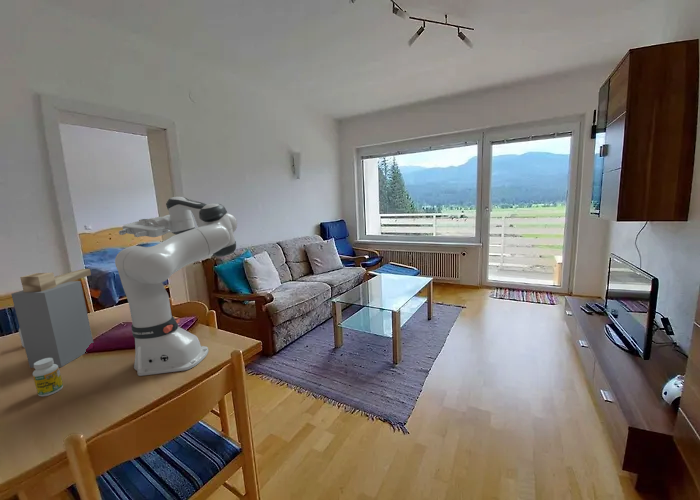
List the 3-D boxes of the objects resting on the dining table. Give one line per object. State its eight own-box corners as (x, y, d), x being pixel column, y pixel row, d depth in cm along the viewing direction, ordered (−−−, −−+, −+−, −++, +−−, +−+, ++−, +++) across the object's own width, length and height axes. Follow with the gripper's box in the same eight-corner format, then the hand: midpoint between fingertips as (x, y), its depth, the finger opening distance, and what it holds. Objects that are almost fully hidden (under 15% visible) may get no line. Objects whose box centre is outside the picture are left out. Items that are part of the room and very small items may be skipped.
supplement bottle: (65, 383, 93) (58, 354, 91) (61, 392, 89) (54, 362, 87) (40, 390, 90) (33, 360, 89) (35, 399, 86) (27, 368, 84)
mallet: (94, 274, 120) (92, 262, 119) (41, 291, 99) (38, 276, 99) (79, 275, 120) (77, 262, 119) (23, 291, 100) (20, 277, 99)
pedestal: (94, 347, 115) (80, 281, 111) (61, 366, 103) (44, 292, 98) (66, 348, 116) (51, 282, 111) (29, 367, 103) (11, 293, 98)
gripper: (173, 235, 146) (146, 243, 133) (141, 231, 152) (113, 238, 140) (171, 222, 144) (143, 229, 131) (139, 218, 150) (110, 225, 138)
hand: (127, 234), depth 136 cm, fingers open, 8 cm apart
